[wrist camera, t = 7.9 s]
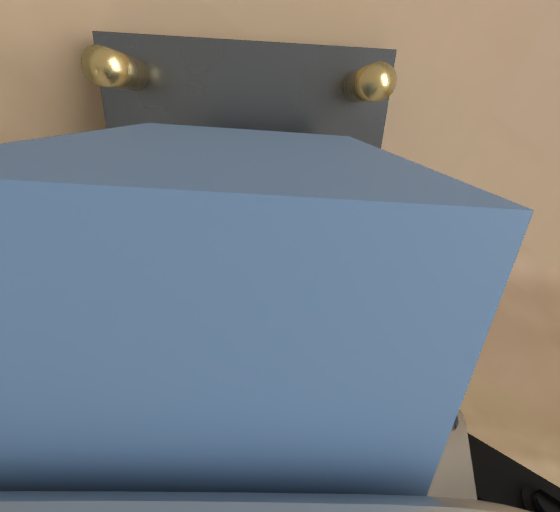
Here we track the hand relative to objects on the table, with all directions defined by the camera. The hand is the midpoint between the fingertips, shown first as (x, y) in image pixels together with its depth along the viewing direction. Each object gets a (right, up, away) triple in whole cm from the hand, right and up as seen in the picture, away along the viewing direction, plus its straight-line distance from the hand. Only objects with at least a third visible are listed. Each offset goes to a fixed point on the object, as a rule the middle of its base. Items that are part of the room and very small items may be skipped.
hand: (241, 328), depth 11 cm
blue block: (0, +1, +2) cm, 2 cm away
